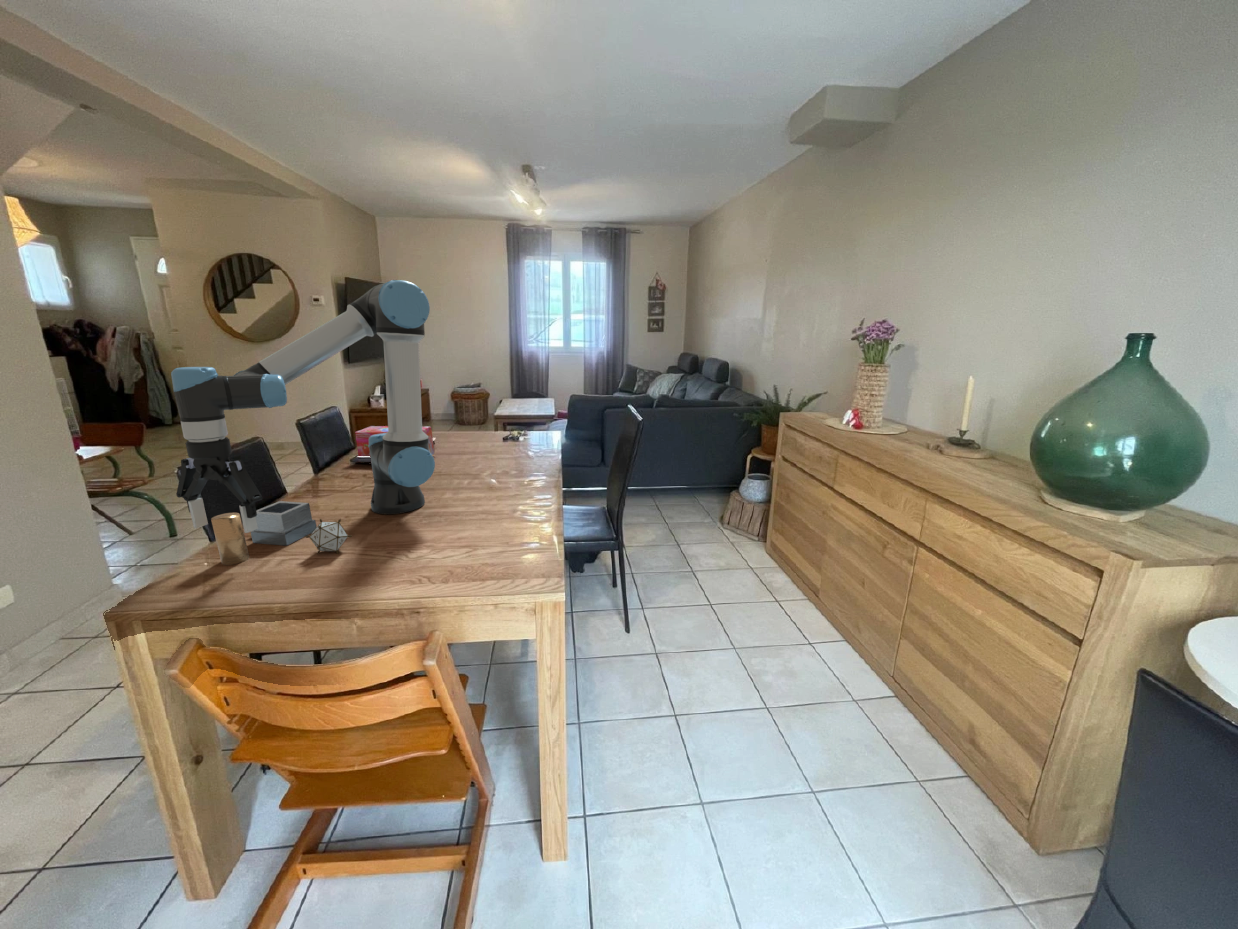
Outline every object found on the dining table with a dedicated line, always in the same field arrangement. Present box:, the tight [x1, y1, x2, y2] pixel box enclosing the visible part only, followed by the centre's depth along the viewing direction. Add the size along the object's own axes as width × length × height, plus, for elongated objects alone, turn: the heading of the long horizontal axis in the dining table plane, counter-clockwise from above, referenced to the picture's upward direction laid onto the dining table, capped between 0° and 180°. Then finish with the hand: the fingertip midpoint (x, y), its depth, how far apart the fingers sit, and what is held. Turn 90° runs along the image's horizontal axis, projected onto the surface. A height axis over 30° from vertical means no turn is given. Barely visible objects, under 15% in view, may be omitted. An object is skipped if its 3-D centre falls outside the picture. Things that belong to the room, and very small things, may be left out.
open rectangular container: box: [250, 500, 318, 546], centre depth 127 cm, size 14×10×8 cm
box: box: [354, 425, 435, 456], centre depth 202 cm, size 27×13×14 cm, turn 85°
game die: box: [304, 518, 353, 555], centre depth 118 cm, size 9×8×10 cm
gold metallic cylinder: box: [210, 512, 250, 566], centre depth 113 cm, size 5×5×11 cm
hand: (225, 528), depth 112 cm, fingers open, 13 cm apart
